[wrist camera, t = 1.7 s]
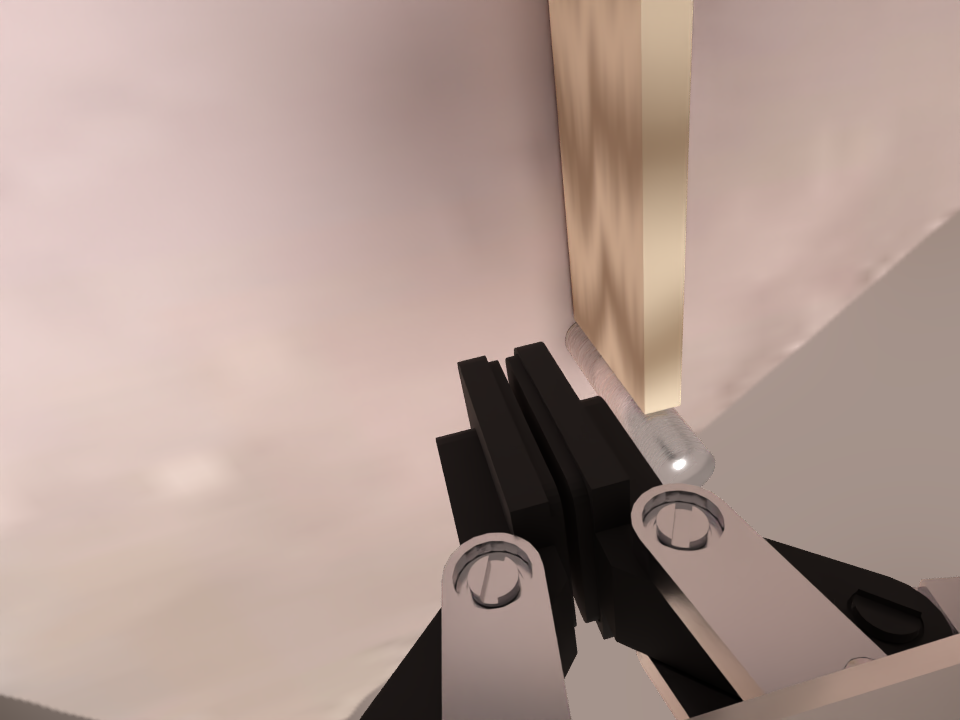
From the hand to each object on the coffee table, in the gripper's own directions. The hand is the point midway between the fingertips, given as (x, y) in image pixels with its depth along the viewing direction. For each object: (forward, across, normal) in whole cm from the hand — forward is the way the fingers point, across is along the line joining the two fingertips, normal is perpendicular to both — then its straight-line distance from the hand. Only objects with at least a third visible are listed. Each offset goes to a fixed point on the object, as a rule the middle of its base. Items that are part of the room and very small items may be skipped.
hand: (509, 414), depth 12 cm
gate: (+17, -7, -2) cm, 18 cm away
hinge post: (+17, -8, +10) cm, 21 cm away
